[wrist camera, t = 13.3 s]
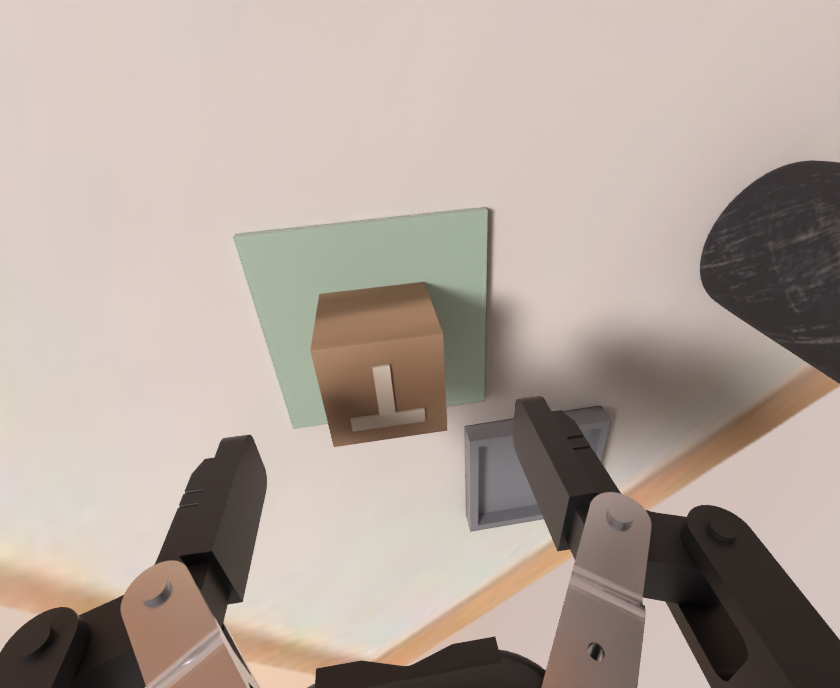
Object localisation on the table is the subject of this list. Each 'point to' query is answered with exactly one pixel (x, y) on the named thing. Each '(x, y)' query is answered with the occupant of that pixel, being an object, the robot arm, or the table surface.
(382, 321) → the letter cube
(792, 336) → the travel mug
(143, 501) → the table surface
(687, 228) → the table surface
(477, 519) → the tray
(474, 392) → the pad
